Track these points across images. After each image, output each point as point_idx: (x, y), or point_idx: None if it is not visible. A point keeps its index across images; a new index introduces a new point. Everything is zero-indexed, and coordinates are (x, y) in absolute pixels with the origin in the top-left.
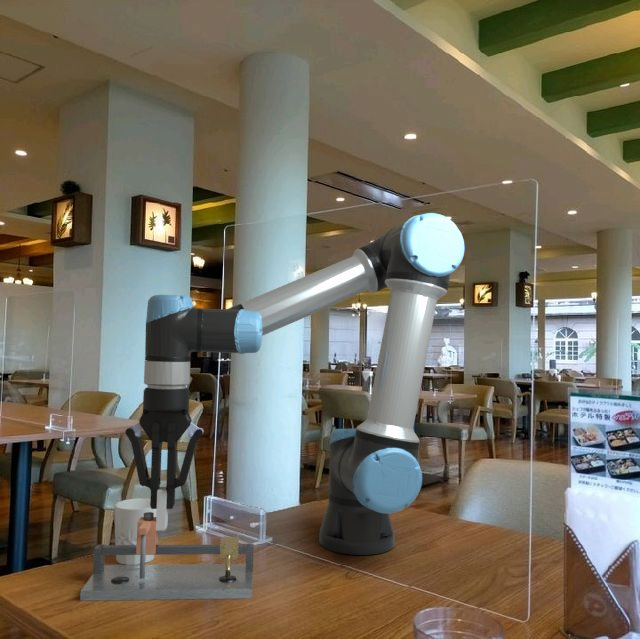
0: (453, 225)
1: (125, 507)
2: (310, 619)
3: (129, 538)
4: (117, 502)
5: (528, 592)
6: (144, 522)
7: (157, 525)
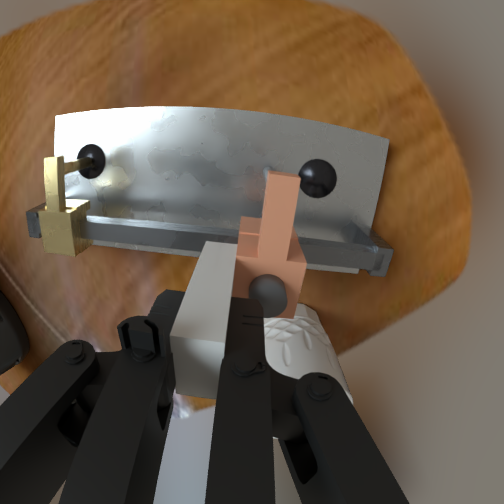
0: None
1: None
2: (18, 58)
3: (307, 334)
4: None
5: None
6: (280, 254)
7: (231, 250)
